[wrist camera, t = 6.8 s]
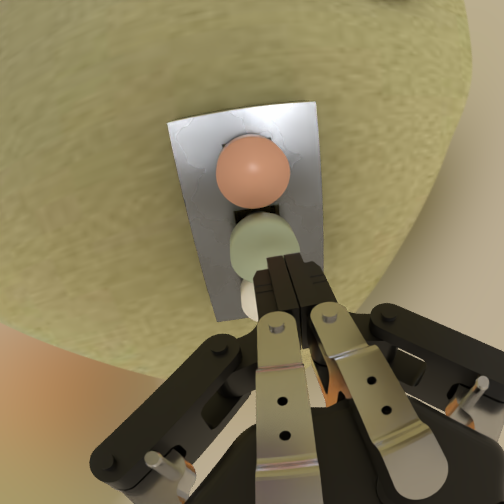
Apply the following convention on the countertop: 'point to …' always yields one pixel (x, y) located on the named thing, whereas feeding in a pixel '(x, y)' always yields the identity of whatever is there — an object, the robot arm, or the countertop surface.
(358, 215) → the countertop surface
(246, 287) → the ivory button
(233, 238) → the sage button
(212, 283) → the panel
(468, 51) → the countertop surface
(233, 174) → the terracotta button
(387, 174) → the countertop surface
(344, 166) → the countertop surface
